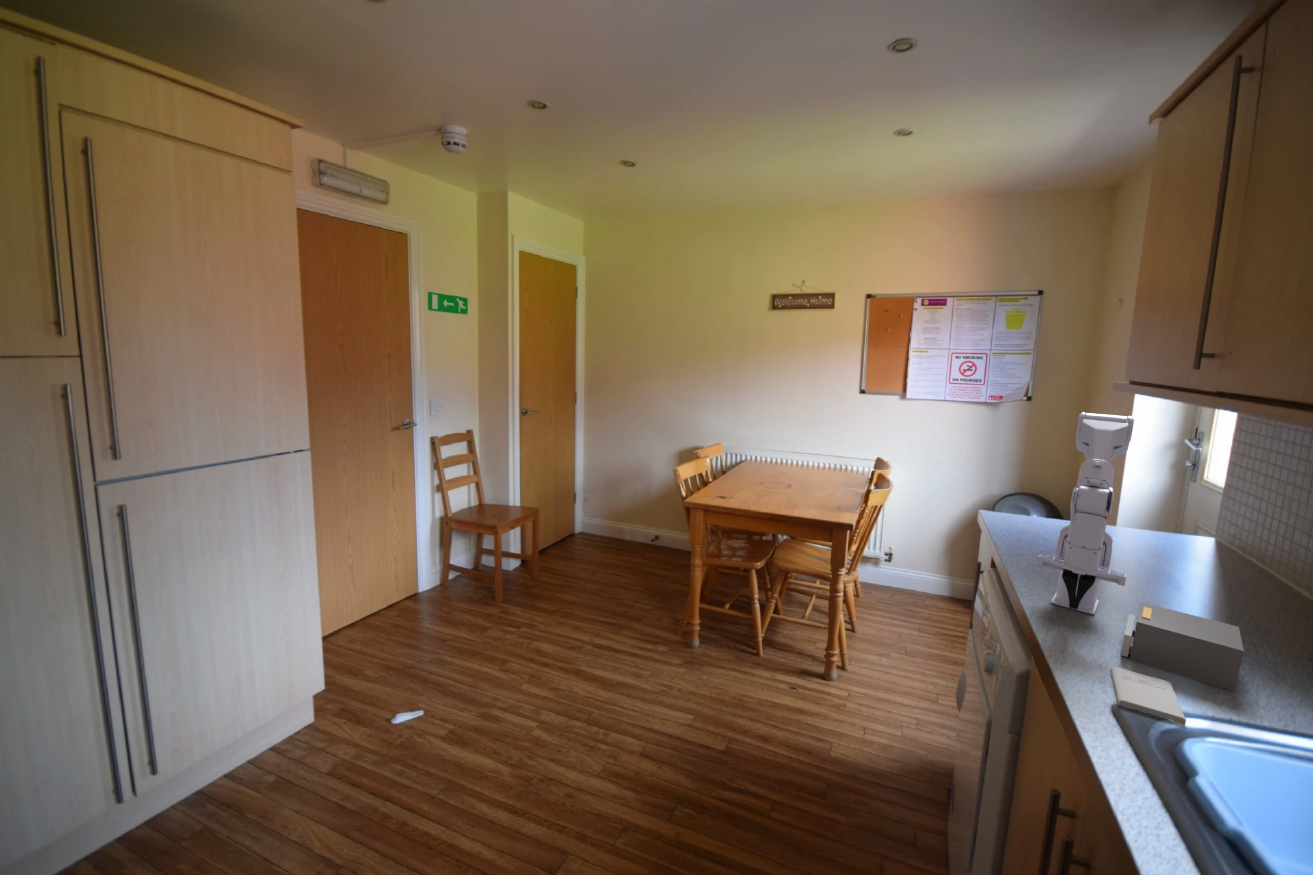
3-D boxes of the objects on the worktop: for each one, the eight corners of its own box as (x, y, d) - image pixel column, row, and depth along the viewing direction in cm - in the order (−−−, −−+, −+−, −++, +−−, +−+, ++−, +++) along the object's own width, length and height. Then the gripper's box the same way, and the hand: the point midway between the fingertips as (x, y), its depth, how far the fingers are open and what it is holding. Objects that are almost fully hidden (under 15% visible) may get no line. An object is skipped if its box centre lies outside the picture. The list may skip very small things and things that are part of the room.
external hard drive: (1117, 708, 93) (1109, 673, 103) (1184, 728, 88) (1169, 689, 98) (1119, 699, 92) (1111, 665, 103) (1186, 718, 88) (1171, 681, 98)
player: (1133, 636, 116) (1140, 600, 114) (1230, 664, 106) (1239, 625, 105) (1129, 659, 107) (1137, 620, 105) (1234, 691, 97) (1244, 649, 96)
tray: (1125, 632, 116) (1129, 613, 116) (1218, 659, 107) (1222, 638, 107) (1120, 654, 108) (1124, 634, 107) (1221, 685, 99) (1226, 663, 98)
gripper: (1038, 540, 117) (1029, 601, 119) (1129, 559, 107) (1116, 626, 109) (1044, 532, 122) (1035, 591, 124) (1131, 550, 112) (1119, 613, 115)
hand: (1073, 606), depth 117 cm, fingers closed
